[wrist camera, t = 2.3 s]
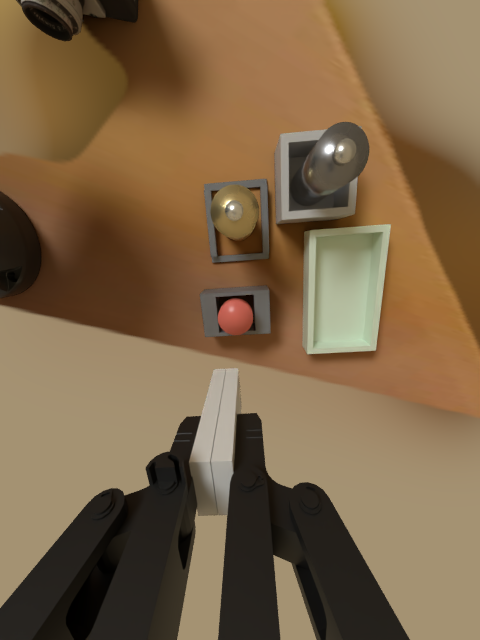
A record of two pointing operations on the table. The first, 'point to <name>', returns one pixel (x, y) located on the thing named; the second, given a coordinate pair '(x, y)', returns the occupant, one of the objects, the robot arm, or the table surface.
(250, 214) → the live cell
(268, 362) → the table surface
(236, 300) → the button
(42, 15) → the camera
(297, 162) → the bin
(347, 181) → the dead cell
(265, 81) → the table surface
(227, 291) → the button housing
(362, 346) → the trough
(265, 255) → the empty grey frame
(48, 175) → the table surface
